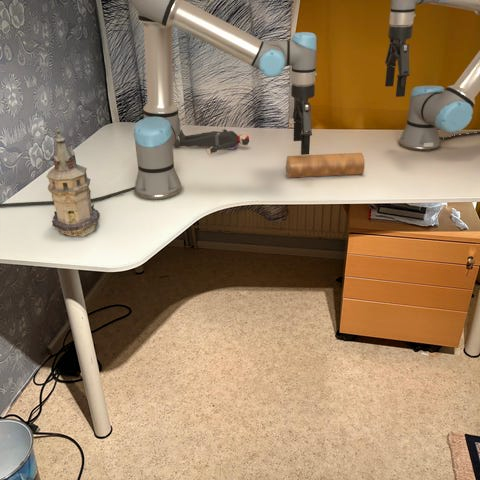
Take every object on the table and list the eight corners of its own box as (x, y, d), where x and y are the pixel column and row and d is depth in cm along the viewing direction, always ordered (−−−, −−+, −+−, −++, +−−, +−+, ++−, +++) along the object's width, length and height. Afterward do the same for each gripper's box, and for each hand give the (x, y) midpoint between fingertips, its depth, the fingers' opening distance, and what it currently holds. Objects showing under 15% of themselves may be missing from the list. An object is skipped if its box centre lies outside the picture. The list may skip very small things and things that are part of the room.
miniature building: (80, 214, 164) (63, 117, 149) (111, 225, 157) (96, 125, 142) (44, 231, 154) (22, 130, 140) (75, 244, 147) (55, 139, 133)
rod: (289, 181, 184) (290, 160, 180) (285, 172, 191) (286, 153, 187) (363, 177, 186) (365, 157, 182) (357, 169, 192) (359, 149, 189)
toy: (185, 122, 227) (254, 122, 220) (186, 136, 230) (255, 137, 224) (165, 142, 205) (242, 143, 198) (167, 157, 208) (243, 159, 201)
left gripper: (323, 93, 161) (320, 159, 172) (306, 75, 183) (304, 135, 193) (298, 94, 161) (296, 161, 171) (285, 76, 183) (284, 136, 193)
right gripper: (425, 31, 163) (416, 100, 174) (401, 19, 185) (395, 81, 195) (400, 32, 163) (393, 101, 174) (379, 20, 185) (374, 82, 195)
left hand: (301, 147), depth 182 cm, fingers open, 13 cm apart
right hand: (394, 91), depth 184 cm, fingers open, 13 cm apart
